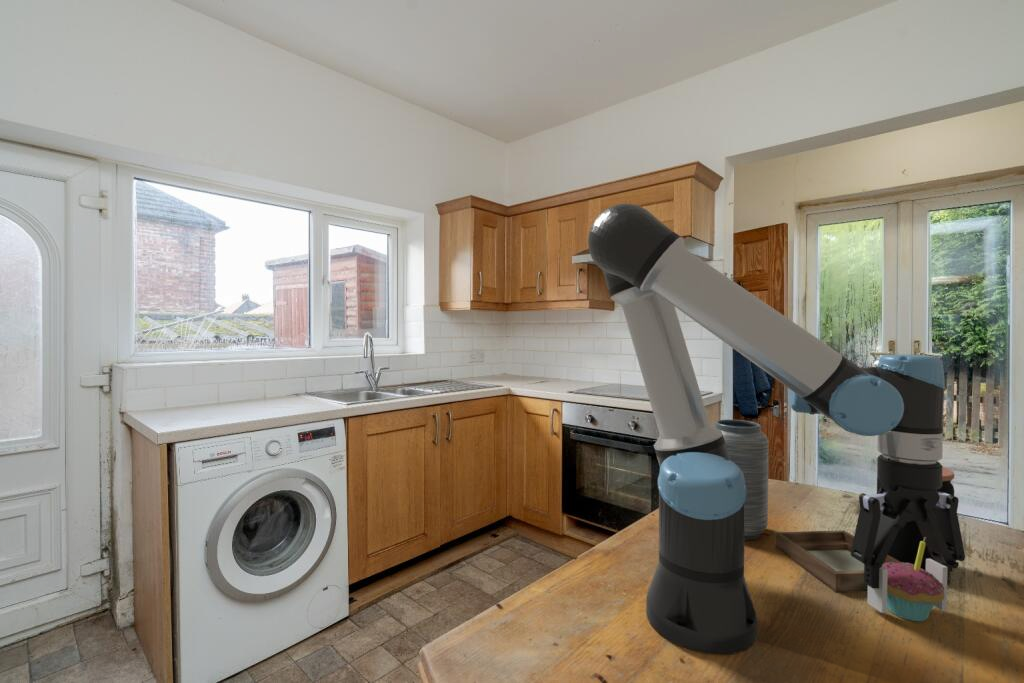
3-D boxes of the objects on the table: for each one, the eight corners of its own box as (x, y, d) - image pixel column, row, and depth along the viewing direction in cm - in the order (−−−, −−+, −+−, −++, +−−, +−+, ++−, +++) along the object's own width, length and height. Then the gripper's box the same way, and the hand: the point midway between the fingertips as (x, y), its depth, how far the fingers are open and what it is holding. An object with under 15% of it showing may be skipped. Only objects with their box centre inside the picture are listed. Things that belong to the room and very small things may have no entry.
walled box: (835, 592, 78) (835, 573, 78) (775, 547, 94) (775, 532, 94) (916, 589, 79) (917, 571, 79) (843, 545, 95) (843, 530, 95)
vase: (737, 517, 109) (738, 416, 109) (780, 538, 98) (782, 426, 97) (695, 524, 105) (696, 419, 105) (735, 546, 94) (736, 430, 94)
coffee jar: (968, 584, 80) (971, 477, 80) (895, 578, 82) (897, 474, 82) (927, 555, 91) (929, 460, 90) (863, 550, 93) (865, 457, 92)
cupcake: (937, 607, 74) (939, 530, 73) (950, 637, 66) (952, 551, 66) (868, 591, 78) (869, 518, 78) (873, 617, 71) (874, 537, 71)
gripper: (860, 466, 67) (858, 624, 68) (1003, 463, 69) (999, 618, 69) (822, 452, 75) (820, 595, 75) (951, 450, 76) (949, 590, 77)
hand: (906, 606), depth 72 cm, fingers closed on cupcake, 9 cm apart
